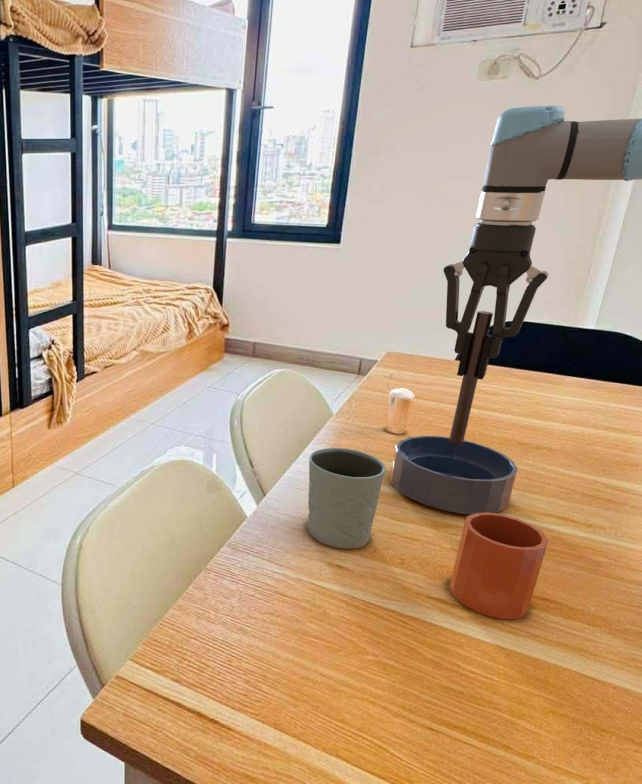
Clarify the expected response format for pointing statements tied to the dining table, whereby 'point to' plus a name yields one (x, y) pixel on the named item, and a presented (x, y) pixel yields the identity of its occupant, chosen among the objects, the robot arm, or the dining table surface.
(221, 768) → the dining table surface
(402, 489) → the bowl
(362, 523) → the grey cup
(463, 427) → the stirring stick
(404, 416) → the milkshake
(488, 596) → the pot
